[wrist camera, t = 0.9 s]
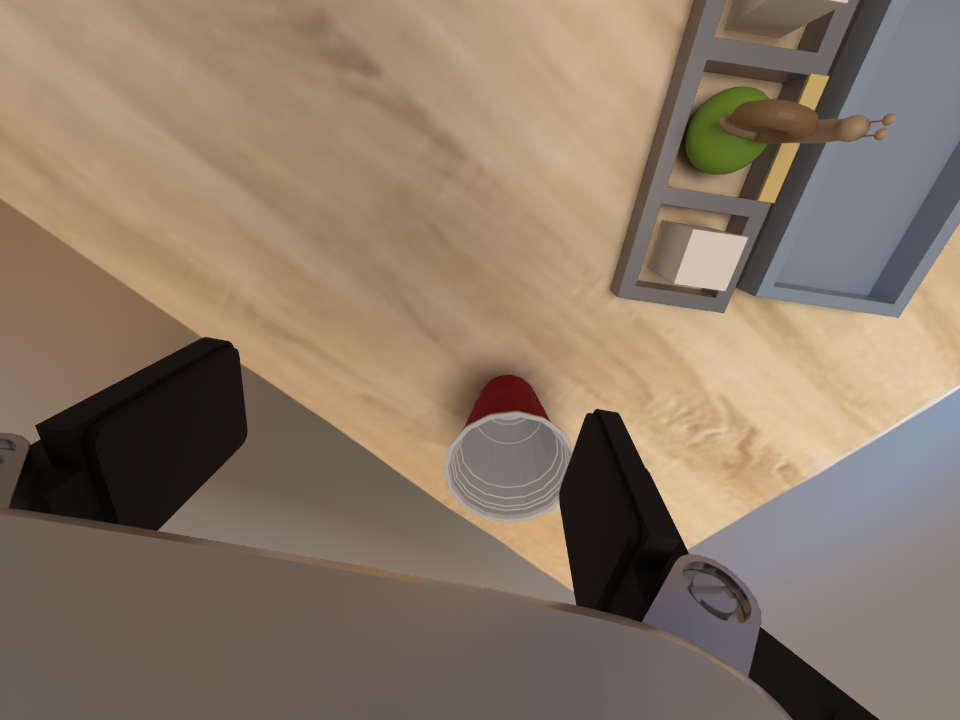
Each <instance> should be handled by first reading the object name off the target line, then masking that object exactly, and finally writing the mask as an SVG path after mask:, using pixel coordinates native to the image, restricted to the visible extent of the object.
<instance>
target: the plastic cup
mask: <svg viewBox="0 0 960 720" xmlns="http://www.w3.org/2000/svg"><path fill="white" fill-rule="evenodd" d="M573 450H574V447H573V445H572V443H571V442H570V440H569V438H568V437H567V435H566V433H565V432H564V431H563V430H561V429H560V428H558V427H557V426H555V425H554V424H552V423H551V422H550V420H549V418H548V416H547V414H546V412H545V410H544V409H543V407H542V405H541V403H540V402H539V400H538V398H537V396H536V394H535V392H534V391H533V389H532V387H531V386H530V385H529V384H528V383H527V382H525V381H524V380H523V379H521V378H519V377H515V376H511V375H508V376H499V377H497V378H495V379H493V380H491V381H490V382H489V383H488V384H487V385H486V386H485V388H484V389H483V390H482V392H481V394H480V396H479V399H478V400H477V401H476V403H475V405H474V408H473V410H472V412H471V414H470V417H469V419H468V421H467V423H466V425H465V427H464V428H463V430H462V432H461V433H460V434H459V435H458V436H457V437H456V438H455V440H454V441H453V442H452V443H451V444H450V446H449V449H448V453H447V457H446V460H445V464H444V473H445V477H446V482H447V487H448V489H449V491H450V492H451V493H452V495H453V496H454V497H455V498H456V500H457V501H458V502H459V504H460V505H461V506H462V507H464V508H466V509H467V510H469V511H471V512H473V513H474V514H476V515H478V516H479V517H481V518H485V519H490V520H495V521H500V522H515V521H524V520H531V519H533V518H535V517H538V516H540V515H542V514H545V513H547V512H549V511H551V510H553V509H554V508H555V507H556V506H557V505H558V504H559V491H560V487H561V484H562V481H563V478H564V476H565V473H566V470H567V467H568V464H569V462H570V459H571V456H572V453H573Z"/></svg>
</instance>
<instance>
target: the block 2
mask: <svg viewBox="0 0 960 720" xmlns="http://www.w3.org/2000/svg"><path fill="white" fill-rule="evenodd" d="M846 3H848V0H734V1H733V5H732V8H731V11H730V14H729V17H728V20H727V23H726V26H725V30H731V31H738V32H744V33H751V34H758V35H764V36H771V37H777V38H781V37H782V36H784V35H786V34H788V33H790V32H792V31H794V30H796V29H798V28H800V27H802V26H804V25H806V24H808V23H810V22H812V21H813V20H815V19H817V18H819V17H821V16H823V15H825V14H827V13H829V12H831V11H833V10H835V9H837V8H839V7H841V6H843V5H845V4H846Z"/></svg>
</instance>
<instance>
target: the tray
mask: <svg viewBox="0 0 960 720" xmlns="http://www.w3.org/2000/svg"><path fill="white" fill-rule="evenodd" d="M827 76H829V79H828V81H827V83H826V85H825V88H824V90H823V92H822V95H821V97H820V99H819V102H818V104H817V106H816V108H815V112H816V113H817V115H818V119H819V120H821V119H845V118H848V117H850V116H854V115H862V116H865V117H867V118H868V119H869V120H870V121H878V120H882V119H883V117H884V116H886V115H887V114H890V113H895V114H896V115H897V118H896V120H895V122H894V123H892V124H891V125H888V126H885V125H883V124H882V122H876V123H871V127H870V130H869V131H868V133H867V134H866V135H874V134H875V132H876V131H877V130H879V129H882V128H886V129H888V131H889V132H888V135H887V136H886V137H885V138H884V139H882V140H875V139H874V136H871V137H862V138H860V139H858V140H856V141H853V142H842V141H833V142H827V143H816V144H808V143H800V145H799V148H798V150H797V152H796V154H795V157H794V159H793V161H792V164H791V166H790V168H789V171H788V173H787V175H786V177H785V180H784V182H783V184H782V187H781V189H780V191H779V194H778V196H777V198H776V200H775V203H771V205H770V208H769V210H768V212H767V215H766V217H765V219H764V222H763V224H762V226H761V229H760V231H759V233H758V236H757V238H756V240H755V243H754V245H753V247H752V249H751V252H750V254H749V256H748V259H747V261H746V263H745V266H744V268H743V270H742V273H741V275H740V277H739V280H738V282H737V284H736V287H737V288H739V289H741V290H743V291H745V292H747V293H749V294H751V295H754V296H756V297H763V298H769V299H776V300H783V301H789V302H796V303H803V304H810V305H816V306H823V307H830V308H836V309H843V310H850V311H857V312H863V313H870V314H877V315H883V316H890V317H897V318H899V316H900V315H901V313H902V312H903V310H904V309H905V307H906V306H907V304H908V302H909V301H910V299H911V298H912V296H913V295H914V293H915V292H916V290H917V288H918V287H919V285H920V284H921V282H922V281H923V279H924V278H925V276H926V274H927V273H928V271H929V270H930V268H931V267H932V265H933V264H934V262H935V260H936V259H937V257H938V256H939V254H940V253H941V251H942V250H943V248H944V246H945V245H946V243H947V242H948V240H949V239H950V237H951V236H952V234H953V232H954V231H955V229H956V228H957V226H958V225H959V223H960V0H859V2H858V4H857V6H856V9H855V11H854V13H853V16H852V18H851V20H850V22H849V25H848V27H847V29H846V32H845V34H844V36H843V39H842V41H841V43H840V46H839V48H838V50H837V53H836V55H835V57H834V60H833V62H832V64H831V66H830V69H829V71H828V73H827Z"/></svg>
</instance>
